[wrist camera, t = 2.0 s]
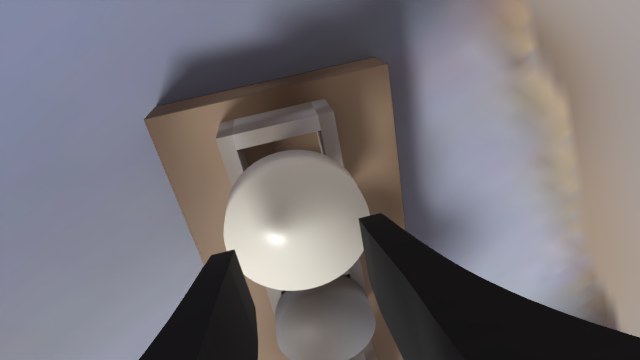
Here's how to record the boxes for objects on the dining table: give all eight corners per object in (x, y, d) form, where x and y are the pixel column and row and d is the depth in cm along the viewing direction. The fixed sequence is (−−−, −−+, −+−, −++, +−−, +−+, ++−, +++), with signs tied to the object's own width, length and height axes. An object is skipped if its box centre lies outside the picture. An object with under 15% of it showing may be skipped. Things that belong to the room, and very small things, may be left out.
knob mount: (374, 57, 17) (420, 80, 13) (410, 353, 26) (445, 433, 22) (155, 106, 17) (116, 150, 12) (267, 392, 26) (271, 482, 21)
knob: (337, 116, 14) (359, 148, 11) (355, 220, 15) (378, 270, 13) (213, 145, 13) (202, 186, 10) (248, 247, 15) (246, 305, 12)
